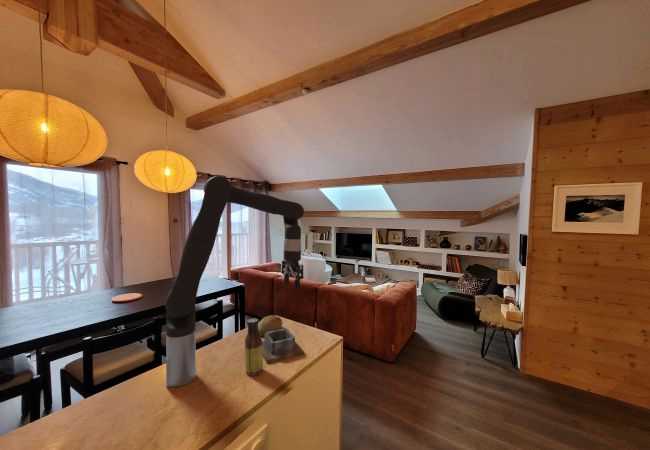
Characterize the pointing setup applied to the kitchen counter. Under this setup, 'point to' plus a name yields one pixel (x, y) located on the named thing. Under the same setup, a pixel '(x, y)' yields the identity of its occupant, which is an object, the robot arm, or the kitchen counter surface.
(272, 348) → the grey open box
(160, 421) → the kitchen counter surface
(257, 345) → the sauce bottle
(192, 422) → the kitchen counter surface
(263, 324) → the bread roll
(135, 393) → the kitchen counter surface
